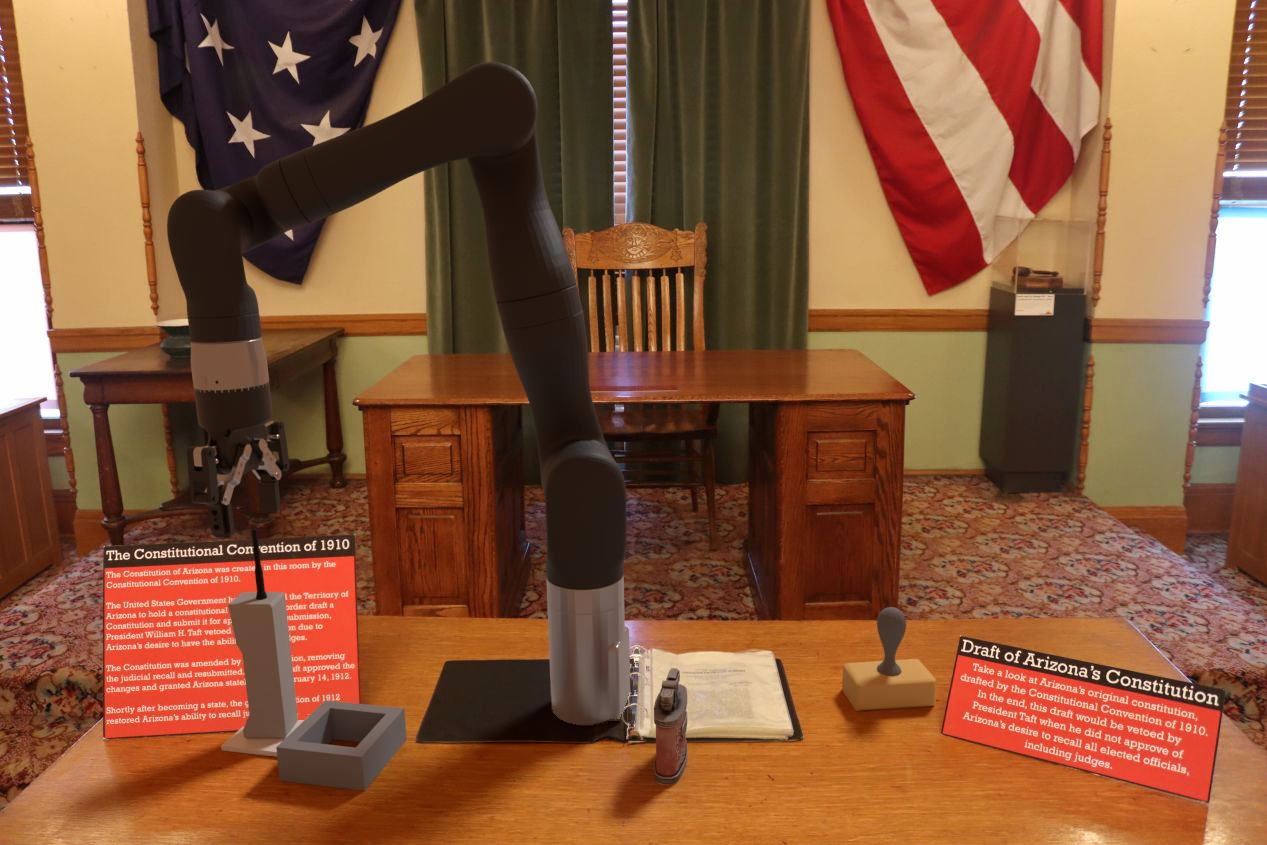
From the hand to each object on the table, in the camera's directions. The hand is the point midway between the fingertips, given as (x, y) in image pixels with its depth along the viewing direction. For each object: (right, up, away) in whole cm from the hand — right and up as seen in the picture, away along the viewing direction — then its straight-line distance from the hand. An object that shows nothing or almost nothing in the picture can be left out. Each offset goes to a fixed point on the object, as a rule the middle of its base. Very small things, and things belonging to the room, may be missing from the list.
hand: (248, 524), depth 103 cm
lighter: (+47, -26, -1) cm, 54 cm away
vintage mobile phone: (0, -25, +5) cm, 26 cm away
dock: (+11, -26, 0) cm, 28 cm away
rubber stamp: (+75, -23, +12) cm, 79 cm away
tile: (+1, -25, +6) cm, 26 cm away
